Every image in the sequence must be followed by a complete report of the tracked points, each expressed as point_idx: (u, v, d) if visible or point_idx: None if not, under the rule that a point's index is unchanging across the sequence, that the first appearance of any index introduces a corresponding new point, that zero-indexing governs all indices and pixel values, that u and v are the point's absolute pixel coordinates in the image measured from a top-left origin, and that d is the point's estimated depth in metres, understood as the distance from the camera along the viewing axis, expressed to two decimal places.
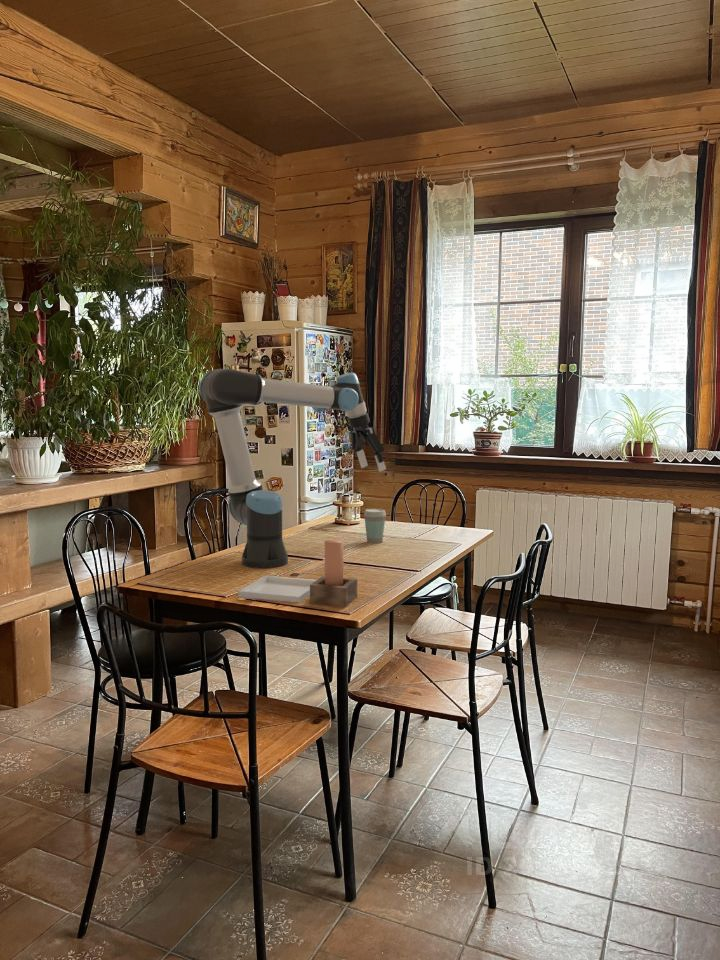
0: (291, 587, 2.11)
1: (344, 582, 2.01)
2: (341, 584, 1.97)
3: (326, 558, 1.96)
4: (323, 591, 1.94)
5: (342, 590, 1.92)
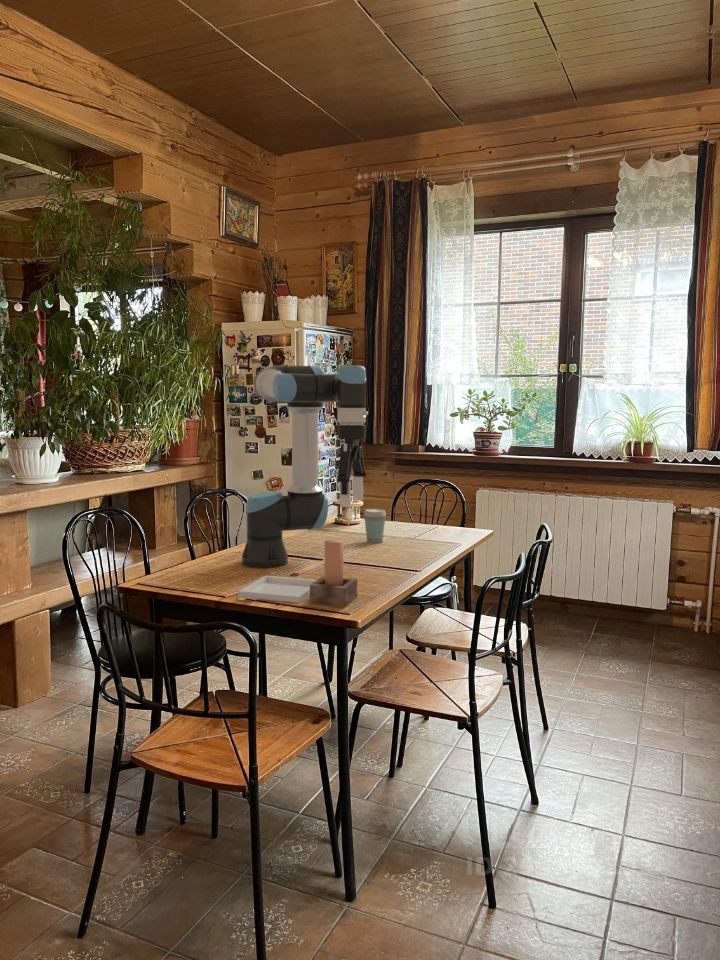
0: (291, 587, 2.11)
1: (344, 582, 2.01)
2: (341, 584, 1.97)
3: (326, 558, 1.96)
4: (323, 591, 1.94)
5: (342, 590, 1.92)
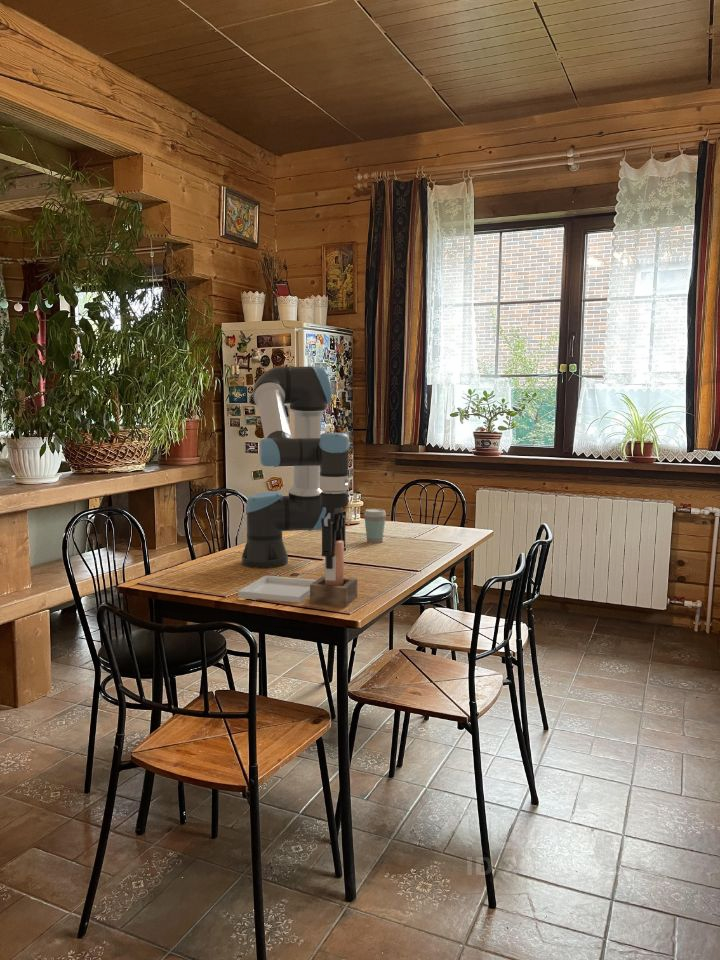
0: (291, 587, 2.11)
1: (344, 582, 2.01)
2: (341, 584, 1.97)
3: None
4: (323, 591, 1.94)
5: (342, 590, 1.92)
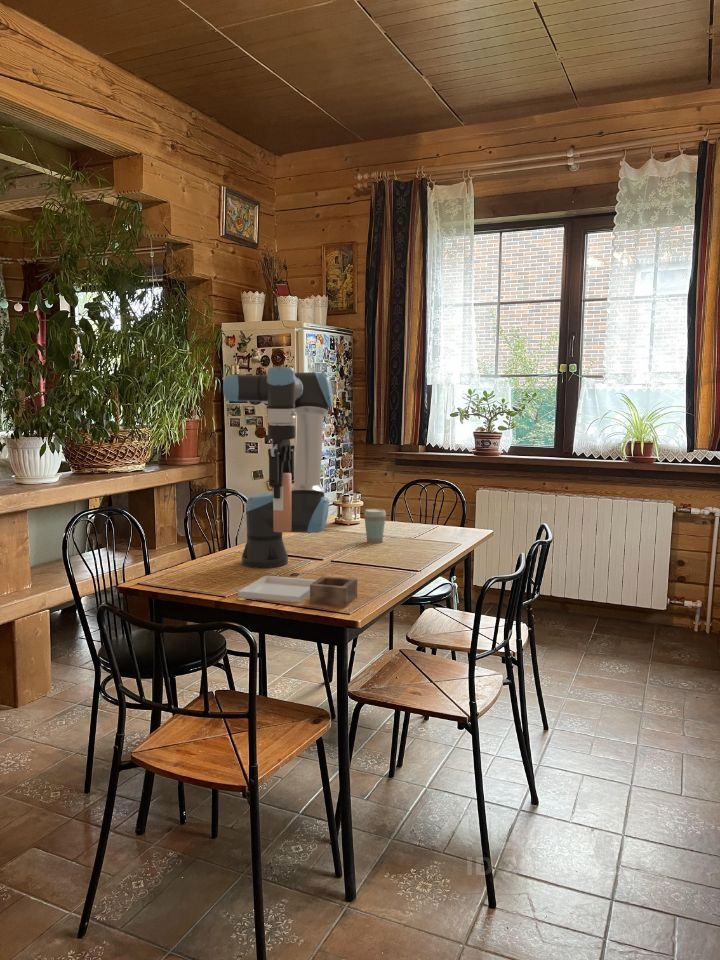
0: (291, 587, 2.11)
1: (344, 582, 2.01)
2: (289, 515, 2.03)
3: None
4: (323, 591, 1.94)
5: (342, 590, 1.92)
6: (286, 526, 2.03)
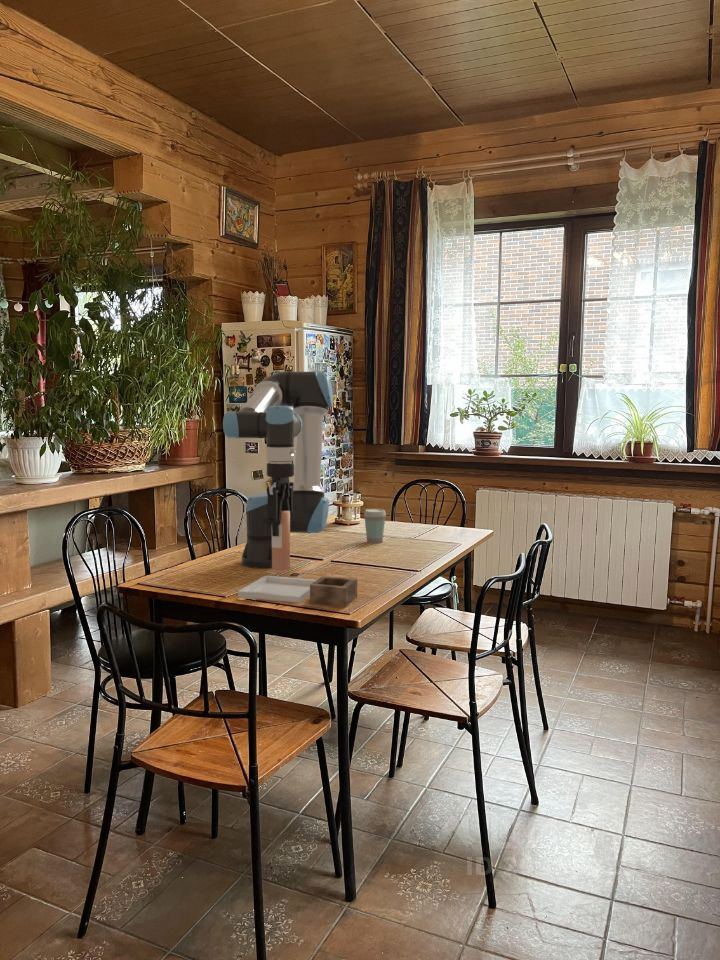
0: (291, 587, 2.11)
1: (344, 582, 2.01)
2: (287, 552, 2.04)
3: None
4: (323, 591, 1.94)
5: (342, 590, 1.92)
6: (285, 563, 2.04)
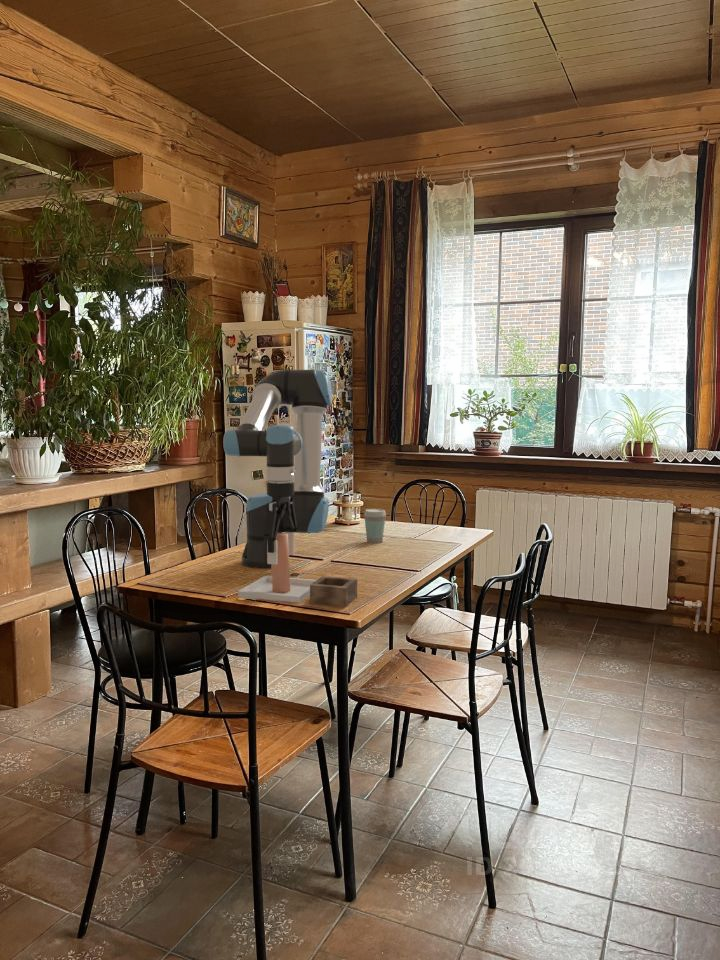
0: (291, 587, 2.11)
1: (344, 582, 2.01)
2: (287, 575, 2.05)
3: None
4: (323, 591, 1.94)
5: (342, 590, 1.92)
6: (285, 586, 2.05)
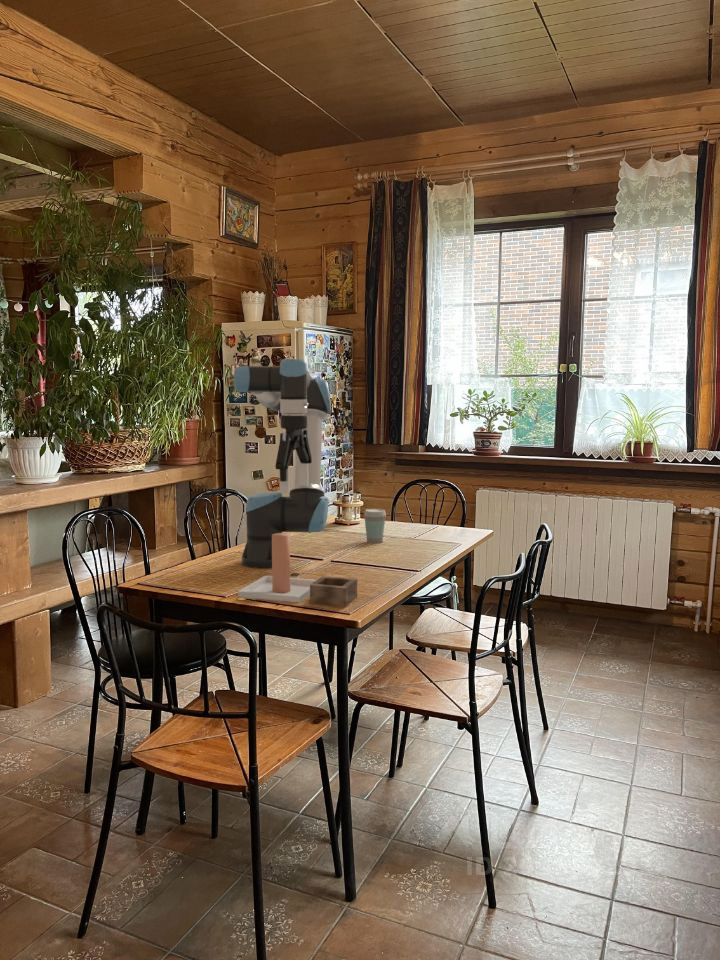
0: (291, 587, 2.11)
1: (344, 582, 2.01)
2: (288, 575, 2.05)
3: (273, 550, 2.04)
4: (323, 591, 1.94)
5: (342, 590, 1.92)
6: (285, 586, 2.05)
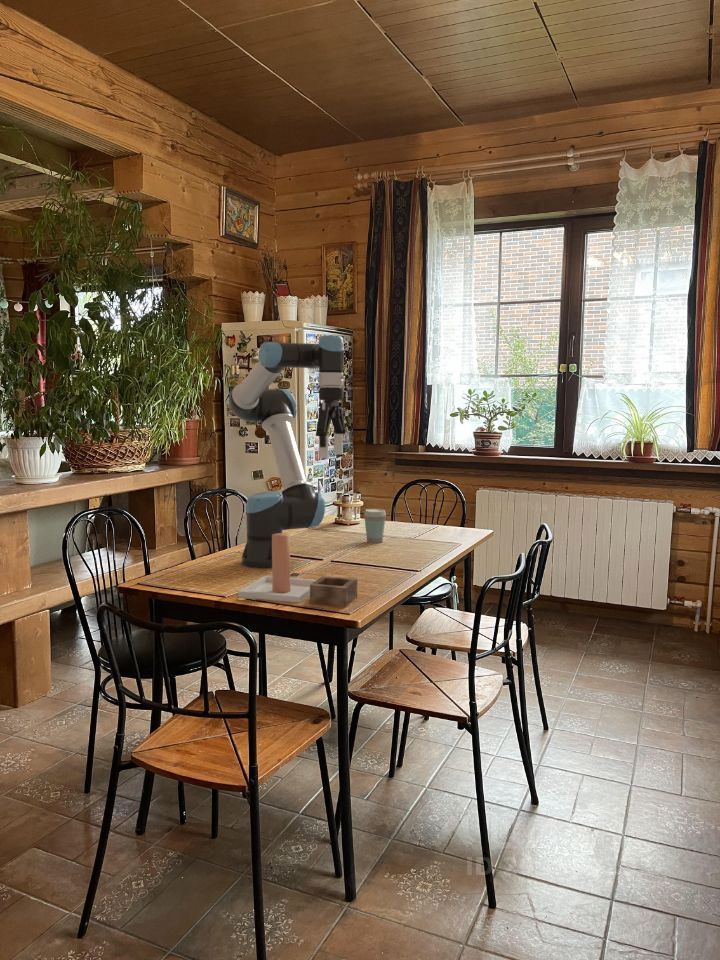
0: (291, 587, 2.11)
1: (344, 582, 2.01)
2: (288, 575, 2.05)
3: (273, 550, 2.04)
4: (323, 591, 1.94)
5: (342, 590, 1.92)
6: (285, 586, 2.05)
